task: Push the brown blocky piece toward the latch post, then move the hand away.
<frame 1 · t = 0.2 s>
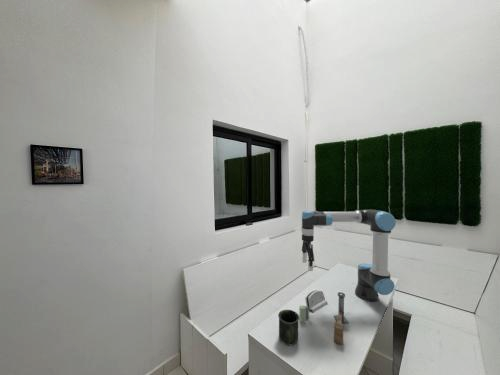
hand: (307, 266, 131), 28 cm above the table, fingers open, 13 cm apart
mug: (289, 336, 107), on the table
brown blocky piece: (339, 324, 110), point 4 cm above the table, hinge at 60.0°
hinge: (315, 305, 135), on the table
hinge post: (341, 320, 120), on the table
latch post: (302, 320, 119), on the table
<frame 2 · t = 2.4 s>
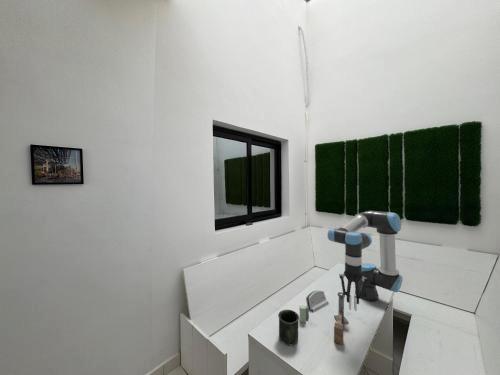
hand: (352, 308, 101), 18 cm above the table, fingers closed
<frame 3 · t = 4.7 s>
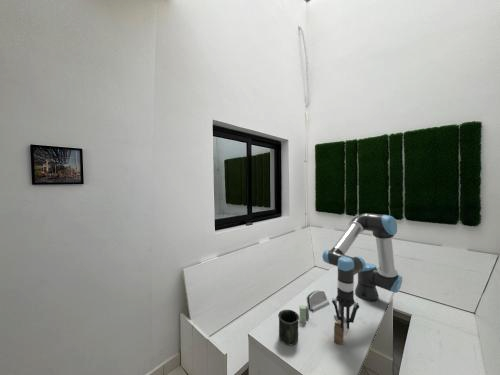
hand: (344, 333, 102), 5 cm above the table, fingers closed
brown blocky piece: (339, 324, 110), point 4 cm above the table, hinge at 60.0°, touching gripper
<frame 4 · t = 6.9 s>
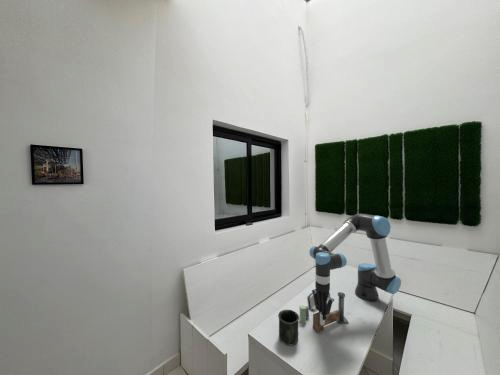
hand: (322, 324, 109), 5 cm above the table, fingers closed
brown blocky piece: (327, 318, 115), point 4 cm above the table, hinge at 24.1°, touching gripper
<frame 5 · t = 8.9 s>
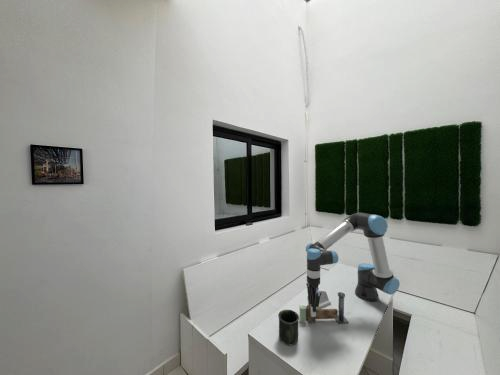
hand: (313, 316, 116), 5 cm above the table, fingers closed
brown blocky piece: (322, 313, 119), point 4 cm above the table, hinge at 0.8°, touching gripper
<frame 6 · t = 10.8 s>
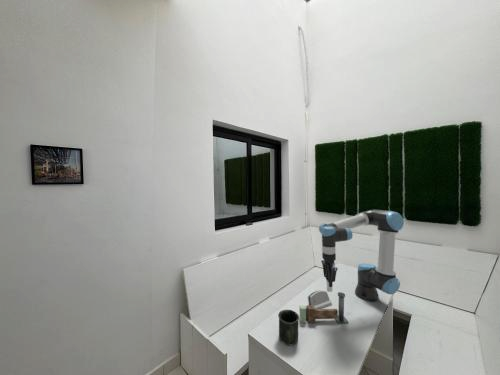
hand: (329, 290, 120), 18 cm above the table, fingers closed
brown blocky piece: (322, 313, 119), point 4 cm above the table, hinge at 0.7°
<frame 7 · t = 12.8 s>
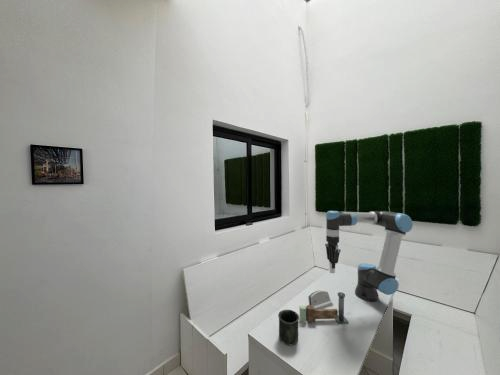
hand: (332, 272, 126), 26 cm above the table, fingers closed
at the end: brown blocky piece at +1° (first picture: +60°) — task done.
